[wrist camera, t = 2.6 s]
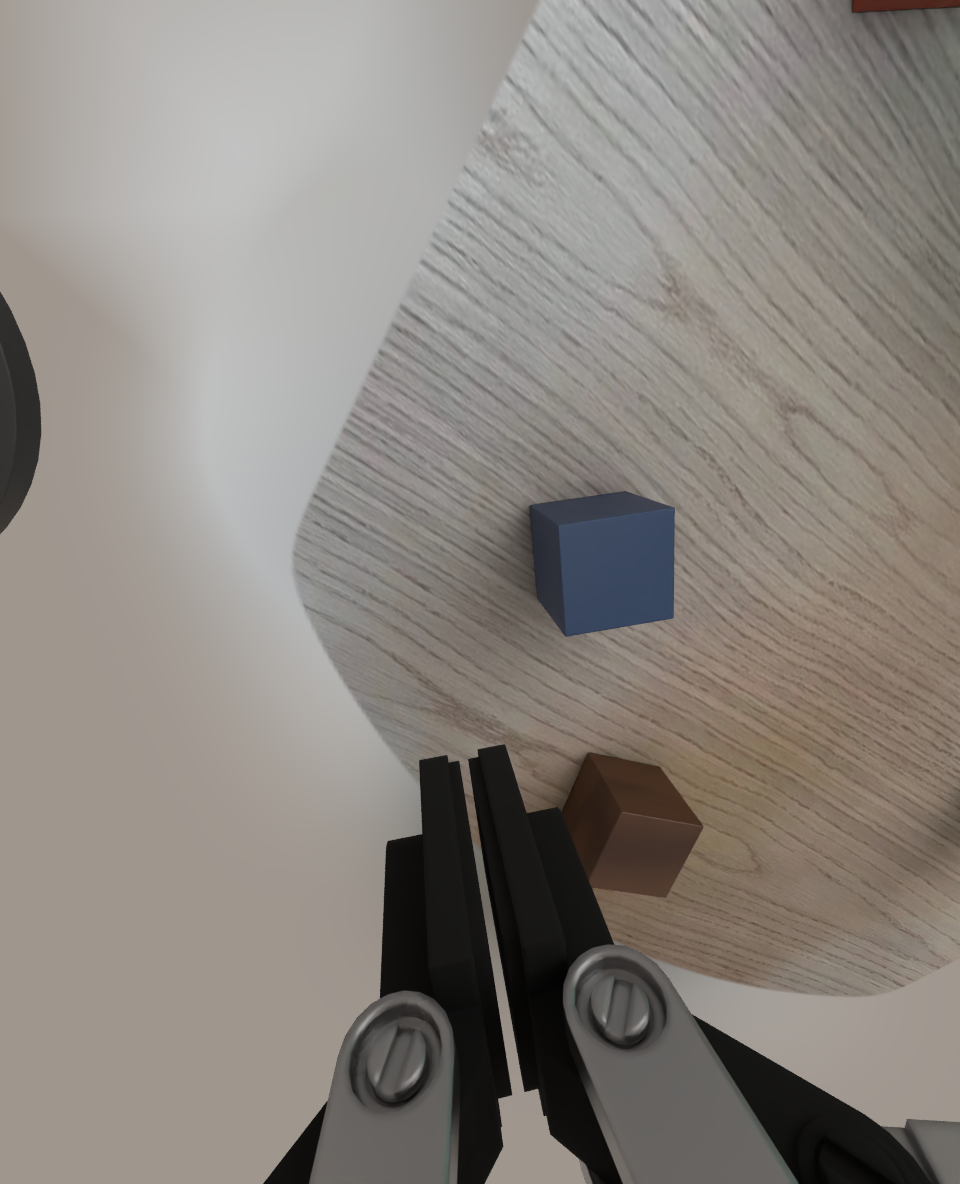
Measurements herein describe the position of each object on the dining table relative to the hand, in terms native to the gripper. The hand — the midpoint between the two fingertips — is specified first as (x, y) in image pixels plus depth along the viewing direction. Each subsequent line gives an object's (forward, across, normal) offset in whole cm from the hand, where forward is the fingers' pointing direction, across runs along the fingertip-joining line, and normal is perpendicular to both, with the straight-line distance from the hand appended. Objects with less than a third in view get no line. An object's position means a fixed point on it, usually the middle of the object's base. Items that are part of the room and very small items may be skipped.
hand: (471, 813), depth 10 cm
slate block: (+17, -8, 0) cm, 19 cm away
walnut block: (+17, -9, +16) cm, 25 cm away
